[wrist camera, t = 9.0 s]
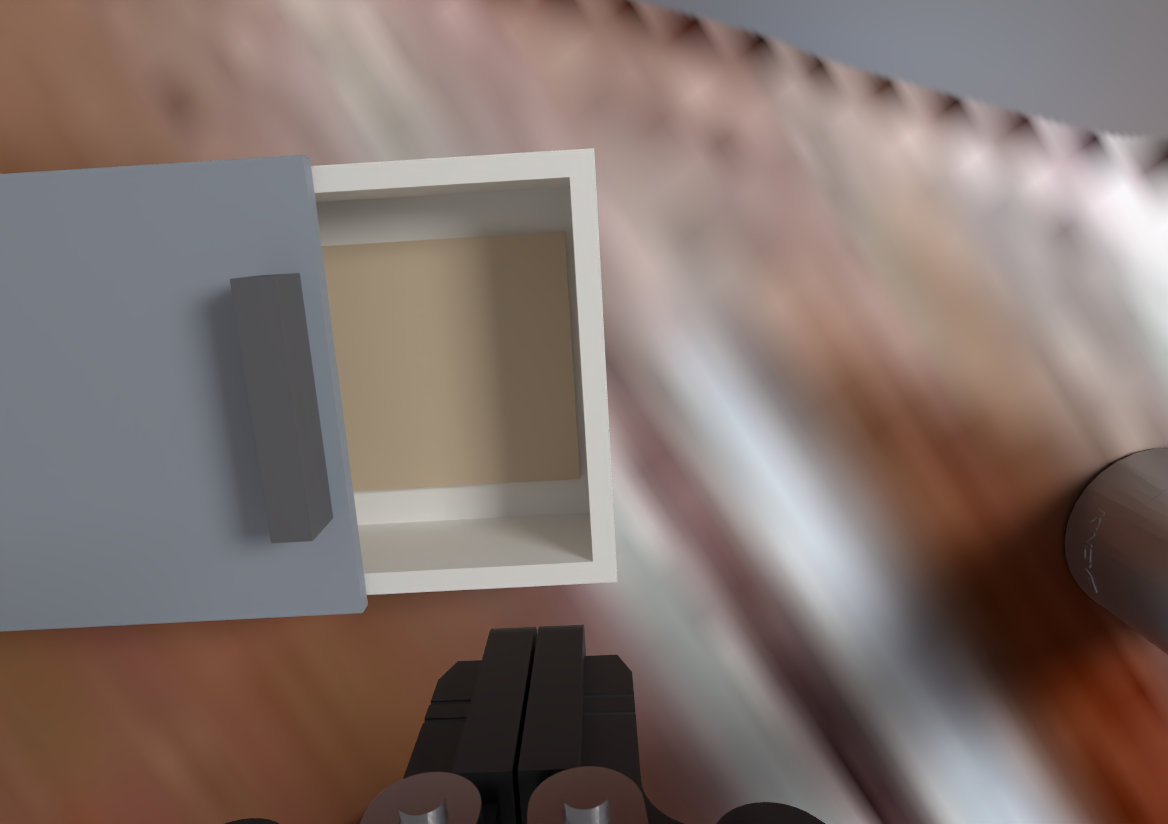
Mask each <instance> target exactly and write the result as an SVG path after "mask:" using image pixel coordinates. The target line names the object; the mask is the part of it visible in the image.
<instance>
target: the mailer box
mask: <svg viewBox="0 0 1168 824" xmlns="http://www.w3.org/2000/svg"><path fill="white" fill-rule="evenodd" d="M311 169H312V177H313V184H314V192H315V200H316V208H317V215H318V223H319V231H320V238H321V246H322V254H323V262H324V269H325V277H326V285H327V292H328V300H329V308H330V316H331V323H332V331H333V339H334V346H335V354H336V362H337V370H338V377H339V385H340V393H341V400H342V408H343V416H344V424H345V431H346V439H347V447H348V454H349V462H350V470H351V478H352V485H353V493H354V501H355V508H356V516H357V524H358V532H359V539H360V547H361V555H362V562H363V570H364V578H365V585H366V593H367V595H375V594H394V593H413V592H433V591H452V590H471V589H490V588H510V587H529V586H548V585H568V584H587V583H606V582H617V567H616V549H615V530H614V511H613V493H612V474H611V455H610V437H609V418H608V399H607V381H606V362H605V344H604V325H603V306H602V288H601V269H600V250H599V232H598V213H597V195H596V176H595V157H594V148H592V149H576V150H561V151H545V152H529V153H513V154H497V155H481V156H465V157H449V158H433V159H417V160H401V161H385V162H369V163H354V164H338V165H322V166H311Z"/></svg>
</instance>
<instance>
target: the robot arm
mask: <svg viewBox="0 0 1168 824" xmlns="http://www.w3.org/2000/svg"><path fill="white" fill-rule="evenodd" d="M1065 556H1066V559H1067V563H1068V566H1069V570H1070V572H1071V574H1072V576H1073V578H1074V579H1075V581H1076V583H1077V585H1078V586H1079V587H1080V588H1081V589H1082V590H1083V591H1084V592H1085V593H1086V594H1087V595H1088V596H1089V597H1090V598H1091V599H1092V600H1094V601H1095V602H1096V603H1098V604H1099V605H1101V606H1102V607H1103V608H1105V609H1106V610H1108V611H1109V612H1110V613H1112V614H1113V615H1114V616H1116V617H1117V618H1119V619H1120V620H1121V621H1123V622H1124V623H1126V624H1127V625H1128V626H1130V627H1131V628H1132V629H1134V630H1135V631H1137V632H1138V633H1139V634H1140V635H1142V636H1143V637H1144V638H1146V639H1147V640H1148V641H1150V642H1151V643H1153V644H1154V645H1155V646H1157V647H1158V648H1159V649H1161V650H1162V651H1164V652H1165V653H1166V654H1168V448H1155V449H1151V450H1146V451H1142V452H1138V453H1135V454H1132V455H1130V456H1128V457H1126V458H1124V459H1121V460H1119V461H1117V462H1116V463H1114V464H1113V465H1111V466H1110V467H1108V468H1107V469H1105V470H1104V471H1103V472H1101V473H1100V474H1099V475H1098V476H1097V477H1096V478H1095V479H1094V480H1093V481H1092V482H1091V483H1090V484H1089V485H1088V486H1087V487H1086V488H1085V490H1084V491H1083V493H1082V494H1081V496H1080V497H1079V499H1078V500H1077V502H1076V503H1075V505H1074V508H1073V510H1072V512H1071V515H1070V517H1069V519H1068V524H1067V529H1066V534H1065ZM225 824H279V823H277V822H274V821H272V820H268V819H261V818H250V819H241V820H236V821H232V822H228V823H225ZM360 824H683V823H681V822H678V821H676V820H674V819H672V818H670V817H668V816H666V815H665V814H663V813H662V812H661V811H659V810H658V809H657V808H656V807H655V806H654V805H653V804H652V803H651V802H650V801H649V800H648V798H647V797H646V795H645V793H644V791H643V788H642V784H641V776H640V764H639V752H638V740H637V727H636V715H635V703H634V691H633V679H632V672H631V670H630V669H629V668H628V667H627V666H626V665H625V663H624V662H623V661H622V660H621V659H620V657H619V656H618V655H600V656H586V648H585V632H584V625H567V626H543V627H539V629H538V634H537V629H536V627H522V628H498V629H491V630H490V633H489V636H488V640H487V644H486V647H485V651H484V655H483V659H482V660H479V661H458V662H457V663H456V664H455V665H454V666H453V667H452V668H450V669H449V670H448V671H447V672H446V673H445V674H444V675H443V676H442V677H441V678H440V679H439V680H438V683H437V685H436V688H435V691H434V694H433V697H432V699H431V705H429V708H428V711H427V713H426V716H425V723H423V725H422V727H421V730H420V733H419V736H418V739H417V741H416V744H415V747H414V750H413V753H412V755H411V758H410V761H409V764H408V767H407V769H406V772H405V775H404V778H403V779H402V780H400V781H398V782H396V783H394V784H392V785H390V786H389V787H387V788H386V789H384V790H383V791H382V792H381V793H380V794H378V795H377V796H376V797H375V799H374V800H373V801H372V802H371V804H370V805H369V807H368V808H367V810H366V812H365V814H364V816H363V818H362V820H361V822H360ZM717 824H825V823H824V822H822V821H821V820H819V819H817V818H816V817H814V816H813V815H811V814H809V813H807V812H805V811H803V810H801V809H798V808H796V807H792V806H789V805H785V804H779V803H770V802H760V803H751V804H746V805H743V806H740V807H737V808H735V809H733V810H731V811H729V812H728V813H726V814H725V815H724V816H723V817H722V818H721V819H720V820H719V821H718V822H717Z"/></svg>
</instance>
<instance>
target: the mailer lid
mask: <svg viewBox="0 0 1168 824" xmlns="http://www.w3.org/2000/svg"><path fill="white" fill-rule="evenodd" d="M367 605H368V601H367V593H366V585H365V578H364V570H363V562H362V555H361V547H360V539H359V532H358V524H357V516H356V508H355V501H354V493H353V485H352V478H351V470H350V462H349V454H348V447H347V439H346V431H345V424H344V416H343V408H342V400H341V393H340V385H339V377H338V370H337V362H336V354H335V346H334V339H333V331H332V323H331V316H330V308H329V300H328V292H327V285H326V277H325V269H324V262H323V254H322V246H321V238H320V231H319V223H318V215H317V208H316V200H315V192H314V184H313V177H312V169H311V161H310V157H308V156H304V155H295V156H279V157H263V158H248V159H232V160H216V161H200V162H184V163H168V164H153V165H137V166H121V167H105V168H89V169H73V170H57V171H42V172H26V173H10V174H0V631H20V630H39V629H59V628H78V627H97V626H117V625H136V624H156V623H175V622H195V621H214V620H234V619H253V618H273V617H292V616H312V615H331V614H351V613H363V612H364V610H365V608H366V607H367Z"/></svg>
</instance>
